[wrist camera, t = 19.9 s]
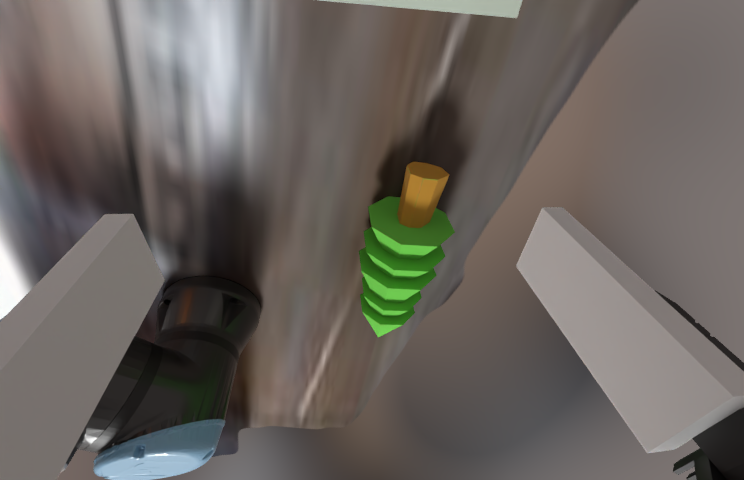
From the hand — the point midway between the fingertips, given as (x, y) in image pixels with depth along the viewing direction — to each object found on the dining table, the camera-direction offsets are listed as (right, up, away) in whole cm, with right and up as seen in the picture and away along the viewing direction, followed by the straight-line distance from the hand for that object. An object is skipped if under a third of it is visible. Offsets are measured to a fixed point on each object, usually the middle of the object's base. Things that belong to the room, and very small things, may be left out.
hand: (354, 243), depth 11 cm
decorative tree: (+3, 0, +38) cm, 38 cm away
